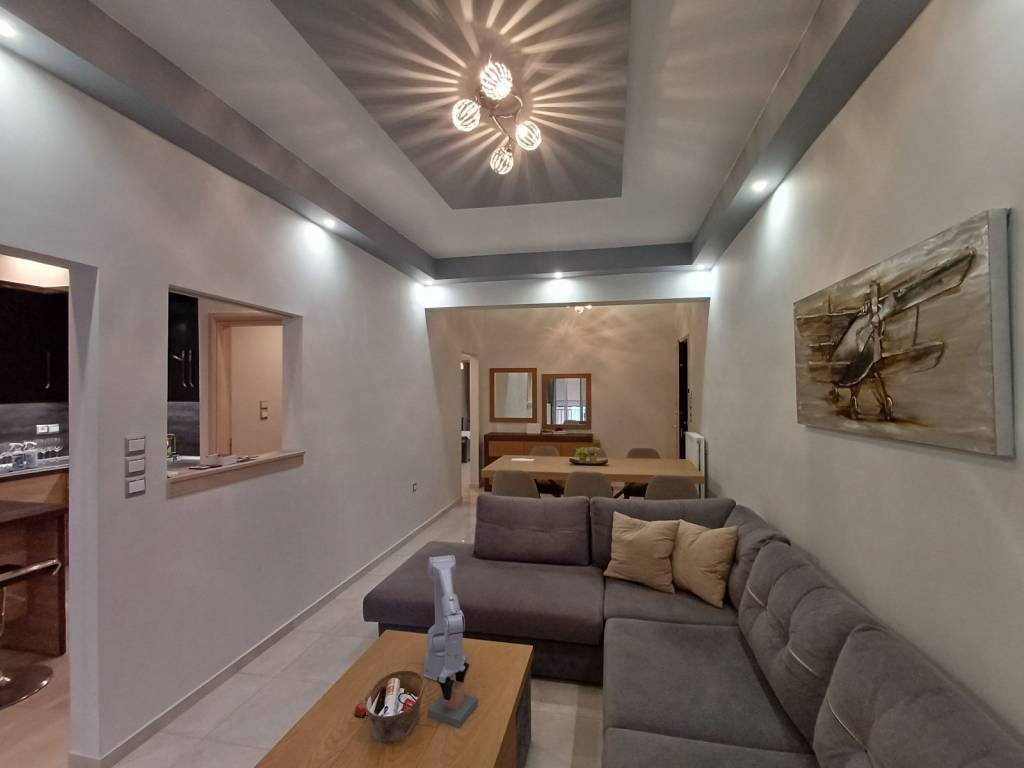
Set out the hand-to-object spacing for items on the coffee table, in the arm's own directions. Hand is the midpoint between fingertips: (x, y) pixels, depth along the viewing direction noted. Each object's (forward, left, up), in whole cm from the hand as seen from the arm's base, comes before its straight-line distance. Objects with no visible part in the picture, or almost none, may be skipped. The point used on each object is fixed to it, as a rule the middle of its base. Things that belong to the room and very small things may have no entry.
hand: (453, 692), depth 159 cm
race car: (-25, -10, -7) cm, 28 cm away
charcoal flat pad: (0, 0, -7) cm, 7 cm away
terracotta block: (0, 0, -4) cm, 4 cm away
